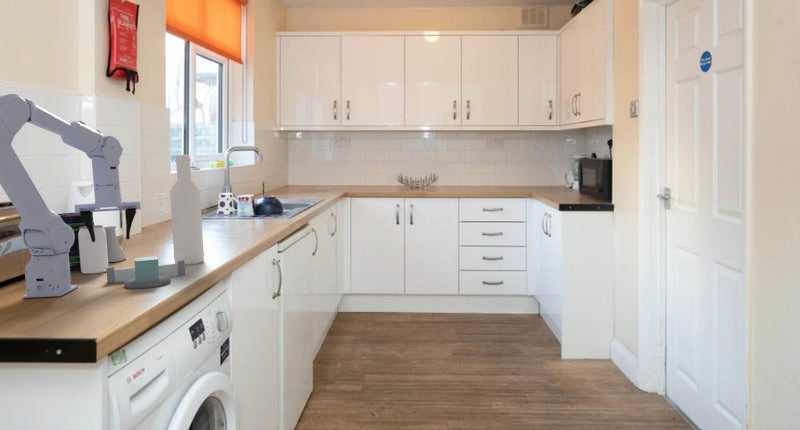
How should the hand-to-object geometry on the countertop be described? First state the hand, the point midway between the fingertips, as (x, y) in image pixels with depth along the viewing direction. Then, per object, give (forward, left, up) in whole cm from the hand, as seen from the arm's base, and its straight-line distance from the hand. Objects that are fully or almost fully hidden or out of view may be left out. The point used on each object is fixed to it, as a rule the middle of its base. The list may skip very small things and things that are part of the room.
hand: (110, 240), depth 149 cm
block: (-9, -11, -8) cm, 17 cm away
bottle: (+18, -14, -10) cm, 25 cm away
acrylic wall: (-3, -9, -9) cm, 13 cm away
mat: (-10, -11, -9) cm, 17 cm away
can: (+9, +8, -10) cm, 15 cm away
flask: (+26, +10, -10) cm, 29 cm away
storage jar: (+15, +15, -10) cm, 23 cm away
